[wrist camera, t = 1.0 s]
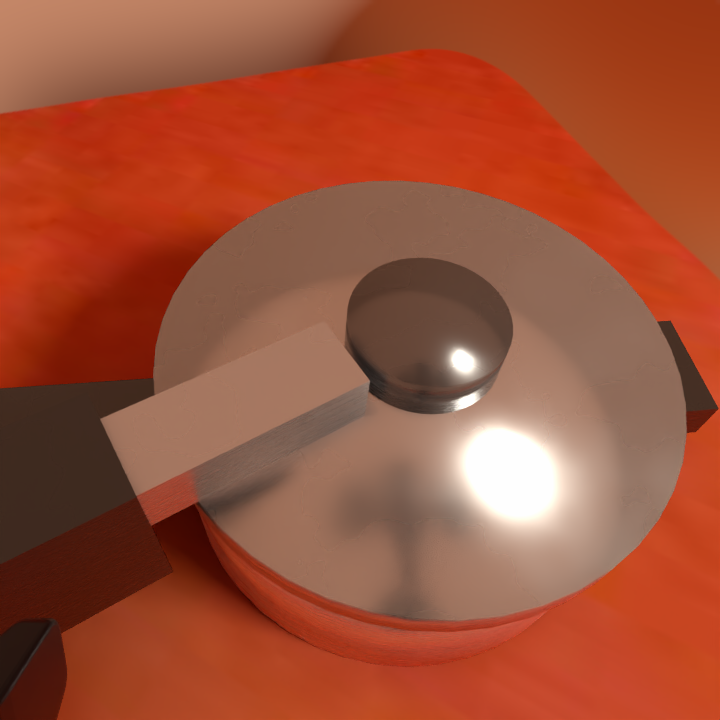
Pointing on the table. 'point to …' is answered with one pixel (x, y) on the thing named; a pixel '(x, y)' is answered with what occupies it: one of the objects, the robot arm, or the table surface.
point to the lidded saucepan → (366, 421)
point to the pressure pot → (307, 617)
